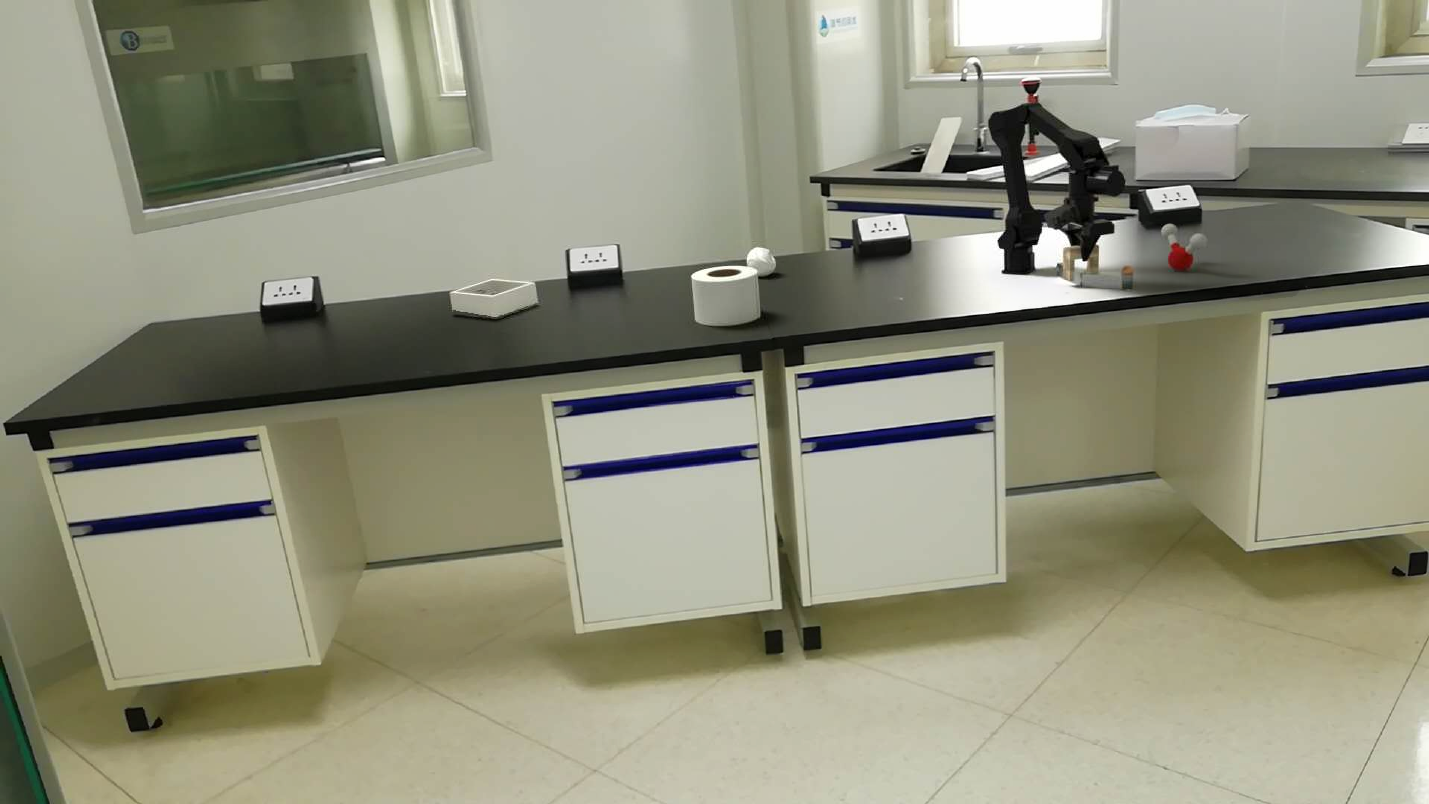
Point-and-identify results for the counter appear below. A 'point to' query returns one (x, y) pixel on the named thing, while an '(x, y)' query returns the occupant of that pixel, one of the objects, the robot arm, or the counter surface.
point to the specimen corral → (494, 297)
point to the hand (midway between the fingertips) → (1080, 260)
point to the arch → (1075, 253)
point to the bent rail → (1101, 278)
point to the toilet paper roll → (726, 295)
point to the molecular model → (1182, 248)
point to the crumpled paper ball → (761, 261)
